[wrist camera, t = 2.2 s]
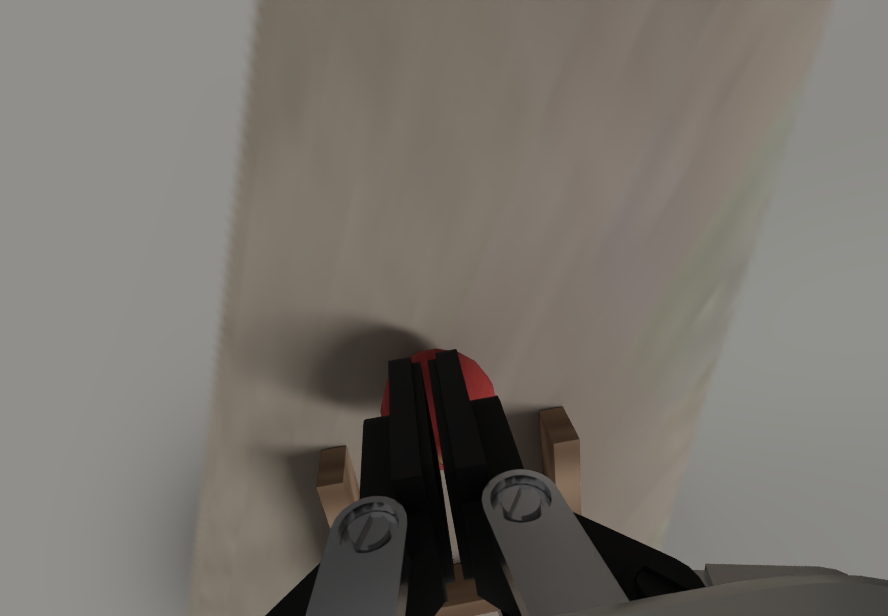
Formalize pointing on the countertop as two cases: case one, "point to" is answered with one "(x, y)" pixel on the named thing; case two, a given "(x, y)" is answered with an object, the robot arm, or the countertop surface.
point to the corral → (463, 600)
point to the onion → (473, 378)
